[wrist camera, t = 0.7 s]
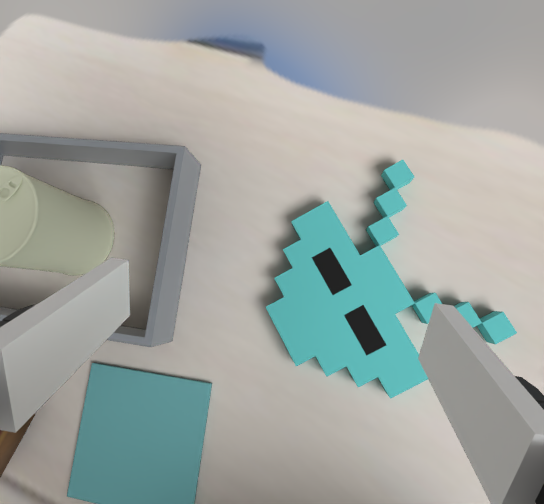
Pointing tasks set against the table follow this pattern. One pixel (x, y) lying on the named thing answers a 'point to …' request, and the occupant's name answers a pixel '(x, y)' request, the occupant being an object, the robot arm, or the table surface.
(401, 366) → the alien figure
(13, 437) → the wooden toy train
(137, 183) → the table surface
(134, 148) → the crate
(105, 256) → the can
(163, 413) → the mat
